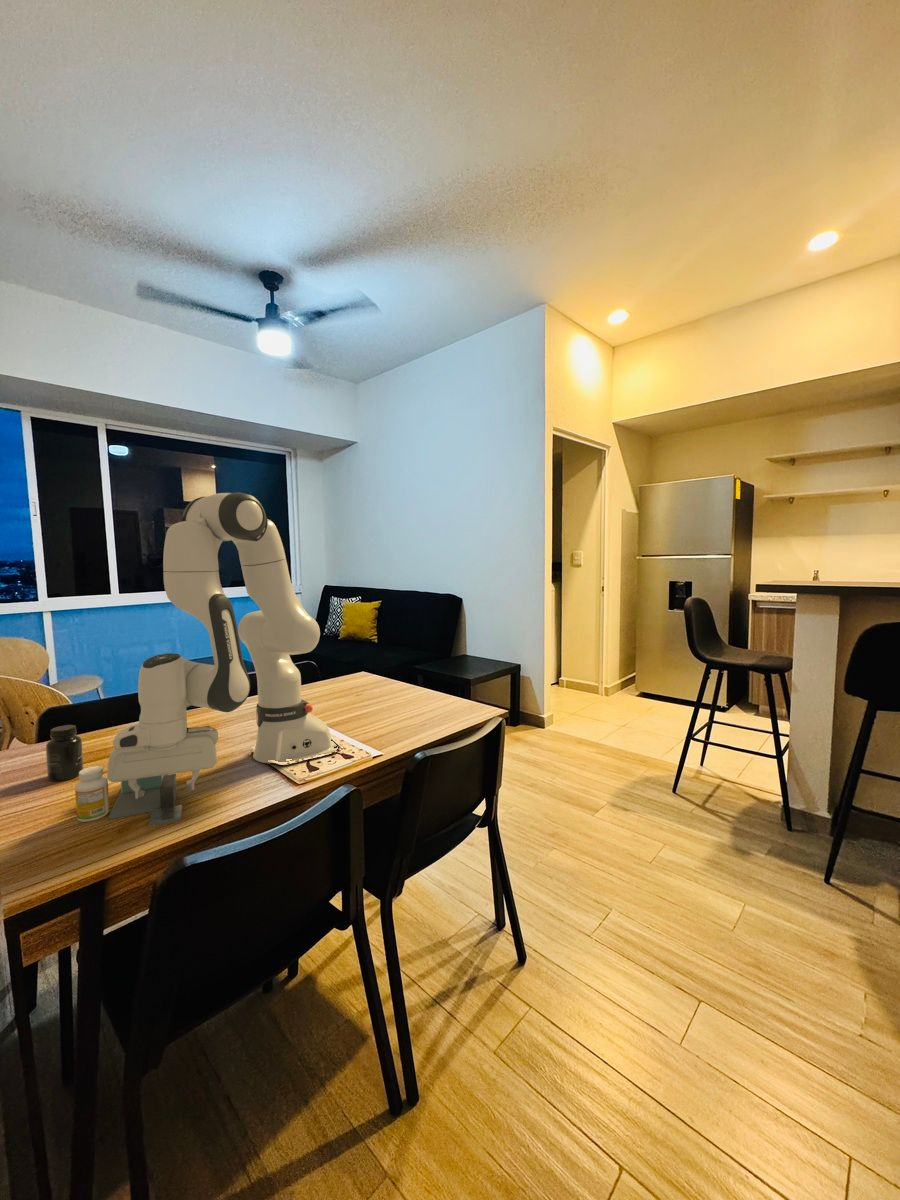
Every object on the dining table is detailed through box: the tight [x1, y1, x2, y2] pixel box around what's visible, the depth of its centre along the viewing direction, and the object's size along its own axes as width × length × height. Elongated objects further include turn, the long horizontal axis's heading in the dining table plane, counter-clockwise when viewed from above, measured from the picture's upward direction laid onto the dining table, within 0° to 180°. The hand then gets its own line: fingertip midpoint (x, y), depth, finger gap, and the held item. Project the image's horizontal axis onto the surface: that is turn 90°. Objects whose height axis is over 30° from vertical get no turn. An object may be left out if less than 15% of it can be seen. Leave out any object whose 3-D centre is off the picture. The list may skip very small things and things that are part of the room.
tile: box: [120, 775, 163, 793], centre depth 110 cm, size 8×2×10 cm, turn 115°
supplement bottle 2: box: [74, 765, 110, 823], centre depth 99 cm, size 5×5×10 cm
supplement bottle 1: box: [45, 724, 84, 782], centre depth 117 cm, size 7×7×12 cm
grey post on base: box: [148, 773, 183, 827], centre depth 102 cm, size 12×6×5 cm, turn 25°
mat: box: [107, 774, 170, 820], centre depth 108 cm, size 9×19×1 cm, turn 25°
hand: (165, 793), depth 104 cm, fingers open, 8 cm apart
